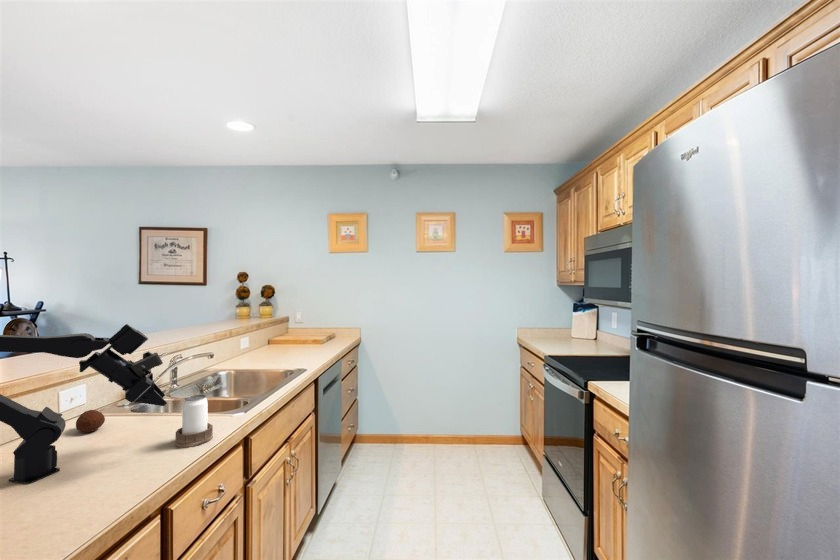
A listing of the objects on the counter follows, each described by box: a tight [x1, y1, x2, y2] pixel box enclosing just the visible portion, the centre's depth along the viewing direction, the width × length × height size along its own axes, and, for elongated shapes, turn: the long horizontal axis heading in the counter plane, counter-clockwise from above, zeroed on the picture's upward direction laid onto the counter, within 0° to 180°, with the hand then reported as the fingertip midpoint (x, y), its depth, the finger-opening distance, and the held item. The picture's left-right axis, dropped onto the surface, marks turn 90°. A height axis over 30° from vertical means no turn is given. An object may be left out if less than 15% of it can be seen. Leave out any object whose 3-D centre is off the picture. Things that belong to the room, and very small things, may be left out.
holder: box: [174, 422, 214, 449], centre depth 108 cm, size 10×10×4 cm
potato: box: [75, 409, 106, 434], centre depth 115 cm, size 7×9×6 cm
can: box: [181, 394, 209, 435], centre depth 108 cm, size 6×6×12 cm
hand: (164, 400), depth 104 cm, fingers open, 9 cm apart
